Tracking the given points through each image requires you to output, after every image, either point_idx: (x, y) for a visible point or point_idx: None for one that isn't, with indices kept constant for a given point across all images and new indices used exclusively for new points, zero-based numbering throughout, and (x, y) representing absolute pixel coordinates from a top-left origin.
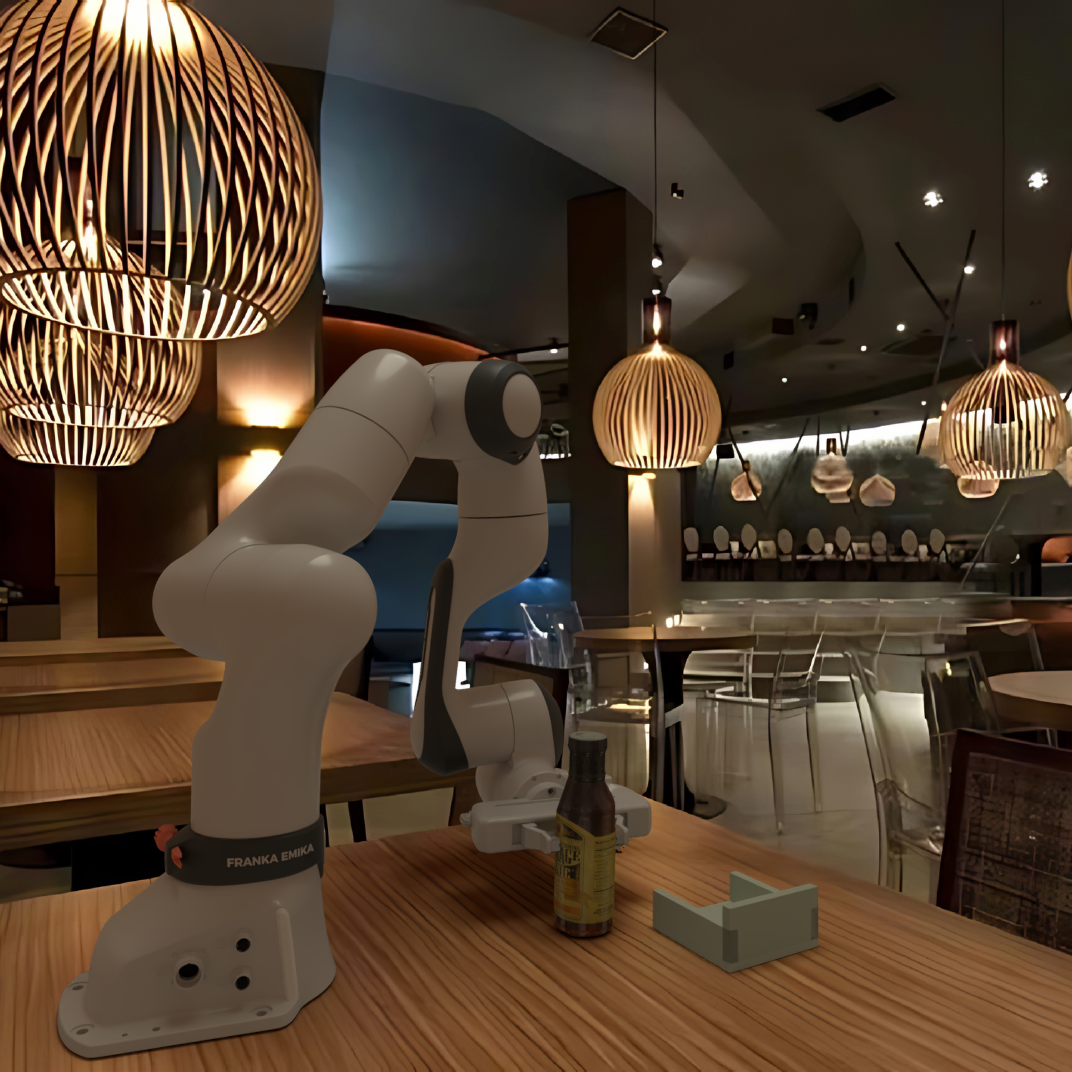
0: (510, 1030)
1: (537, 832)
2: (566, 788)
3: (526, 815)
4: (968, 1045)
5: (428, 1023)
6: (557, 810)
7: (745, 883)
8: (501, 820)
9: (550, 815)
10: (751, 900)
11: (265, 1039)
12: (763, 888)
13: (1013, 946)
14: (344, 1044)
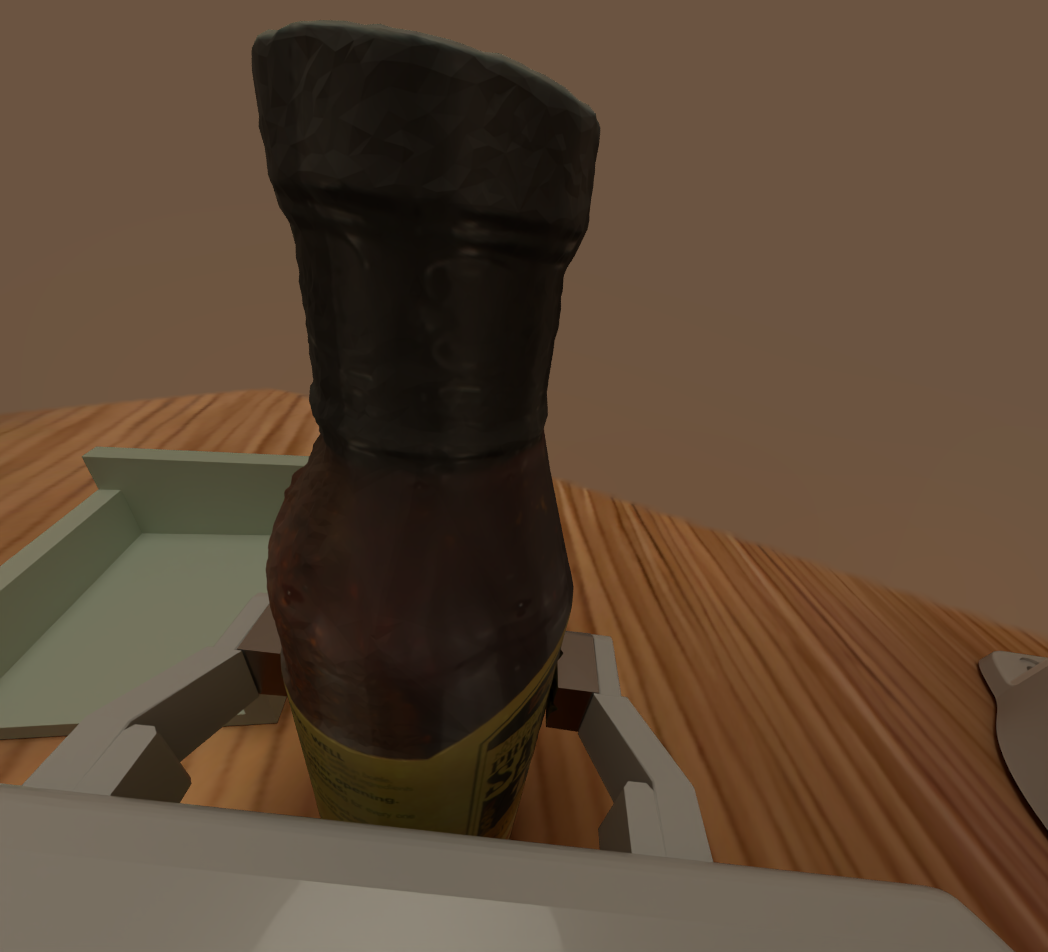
0: (670, 552)
1: (633, 711)
2: (552, 484)
3: (698, 889)
4: (301, 409)
5: (772, 599)
6: (570, 595)
7: None
8: (867, 882)
9: (521, 846)
10: (267, 459)
11: (985, 649)
12: (33, 565)
13: None
14: (865, 601)
